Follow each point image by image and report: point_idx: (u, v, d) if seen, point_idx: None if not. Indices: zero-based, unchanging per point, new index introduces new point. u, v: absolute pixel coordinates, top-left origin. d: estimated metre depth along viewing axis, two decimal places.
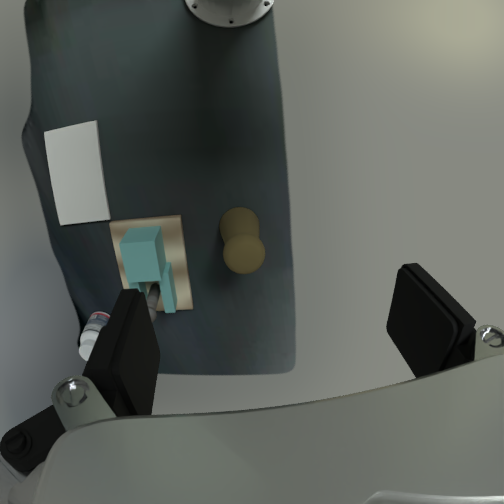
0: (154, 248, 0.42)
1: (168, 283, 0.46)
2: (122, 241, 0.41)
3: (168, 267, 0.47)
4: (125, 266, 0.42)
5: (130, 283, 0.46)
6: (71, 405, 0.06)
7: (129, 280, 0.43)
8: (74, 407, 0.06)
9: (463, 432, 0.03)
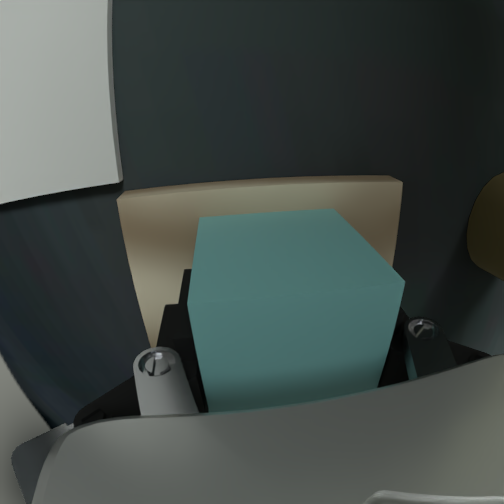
0: (391, 319, 0.08)
1: None
2: (205, 286, 0.07)
3: None
4: (216, 404, 0.08)
5: None
6: (151, 374, 0.07)
7: None
8: (154, 377, 0.07)
9: (463, 432, 0.03)
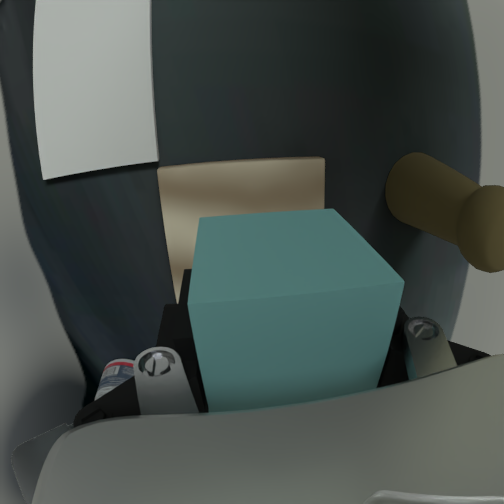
0: (391, 318, 0.08)
1: None
2: (205, 286, 0.07)
3: None
4: (216, 403, 0.08)
5: None
6: (151, 374, 0.07)
7: None
8: (154, 377, 0.07)
9: (463, 432, 0.03)
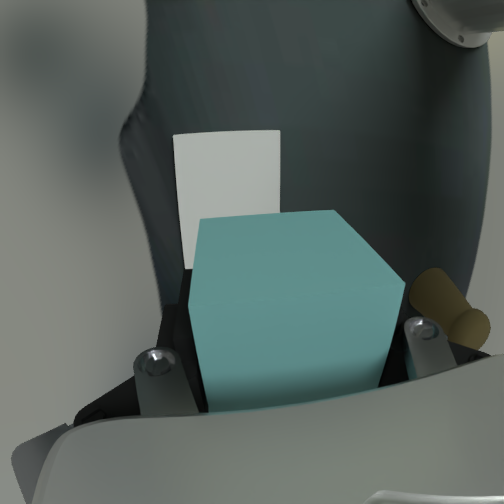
0: (391, 320, 0.08)
1: None
2: (205, 288, 0.07)
3: None
4: (216, 405, 0.08)
5: None
6: (151, 374, 0.07)
7: None
8: (153, 377, 0.07)
9: (463, 432, 0.03)
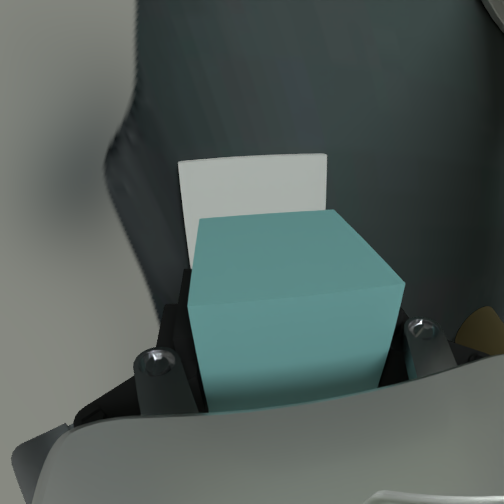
0: (391, 320, 0.08)
1: None
2: (205, 288, 0.07)
3: None
4: (216, 405, 0.08)
5: None
6: (151, 374, 0.07)
7: None
8: (154, 377, 0.07)
9: (463, 432, 0.03)
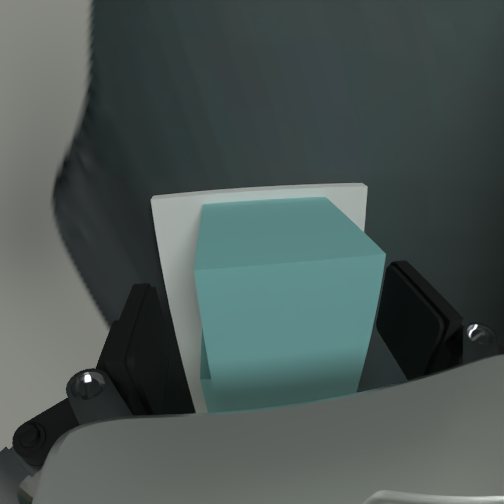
0: (375, 289, 0.09)
1: None
2: (209, 257, 0.08)
3: None
4: (217, 369, 0.09)
5: (212, 398, 0.13)
6: (85, 398, 0.06)
7: None
8: (88, 400, 0.06)
9: (463, 432, 0.03)
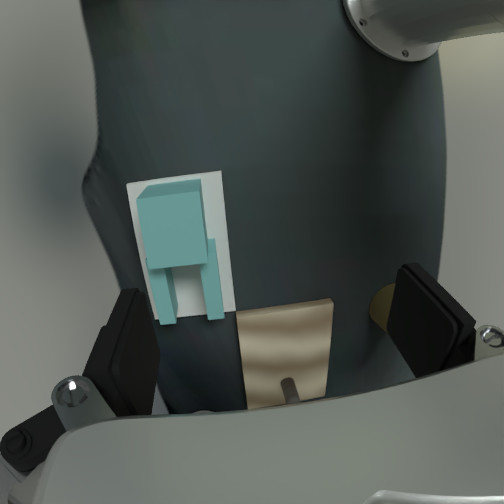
0: (198, 204, 0.25)
1: (215, 270, 0.29)
2: (141, 196, 0.24)
3: (213, 245, 0.30)
4: (145, 240, 0.25)
5: (151, 273, 0.28)
6: (71, 405, 0.06)
7: (152, 265, 0.26)
8: (74, 407, 0.06)
9: (463, 432, 0.03)
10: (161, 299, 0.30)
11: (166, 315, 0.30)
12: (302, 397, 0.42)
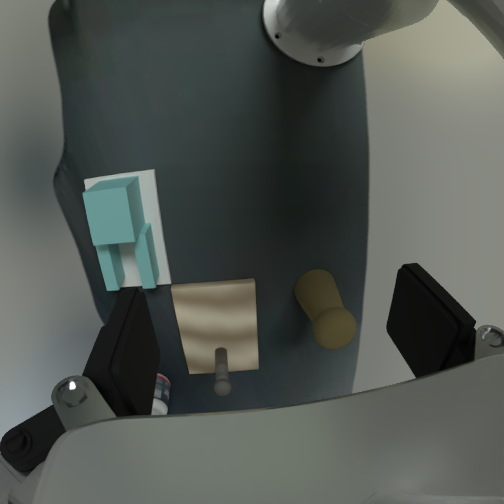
0: (126, 197, 0.31)
1: (145, 248, 0.36)
2: (87, 190, 0.31)
3: (146, 228, 0.36)
4: (90, 223, 0.32)
5: (99, 249, 0.35)
6: (71, 405, 0.06)
7: (95, 242, 0.33)
8: (74, 407, 0.06)
9: (463, 432, 0.03)
10: (106, 269, 0.36)
11: (111, 282, 0.37)
12: (237, 368, 0.49)
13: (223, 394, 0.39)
